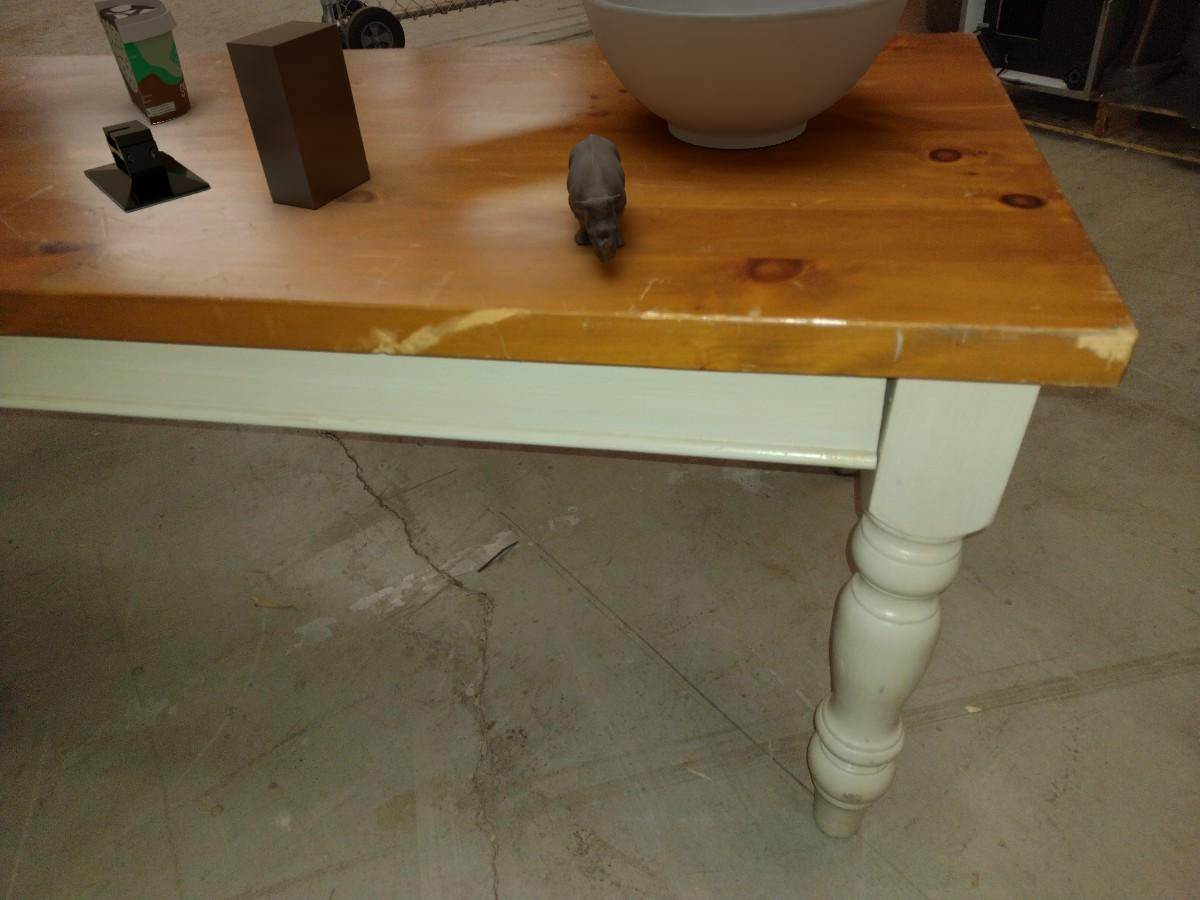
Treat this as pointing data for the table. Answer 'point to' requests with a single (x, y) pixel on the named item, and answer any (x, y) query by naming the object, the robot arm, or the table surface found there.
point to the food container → (146, 56)
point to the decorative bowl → (740, 61)
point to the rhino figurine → (597, 194)
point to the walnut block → (301, 111)
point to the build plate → (141, 170)
